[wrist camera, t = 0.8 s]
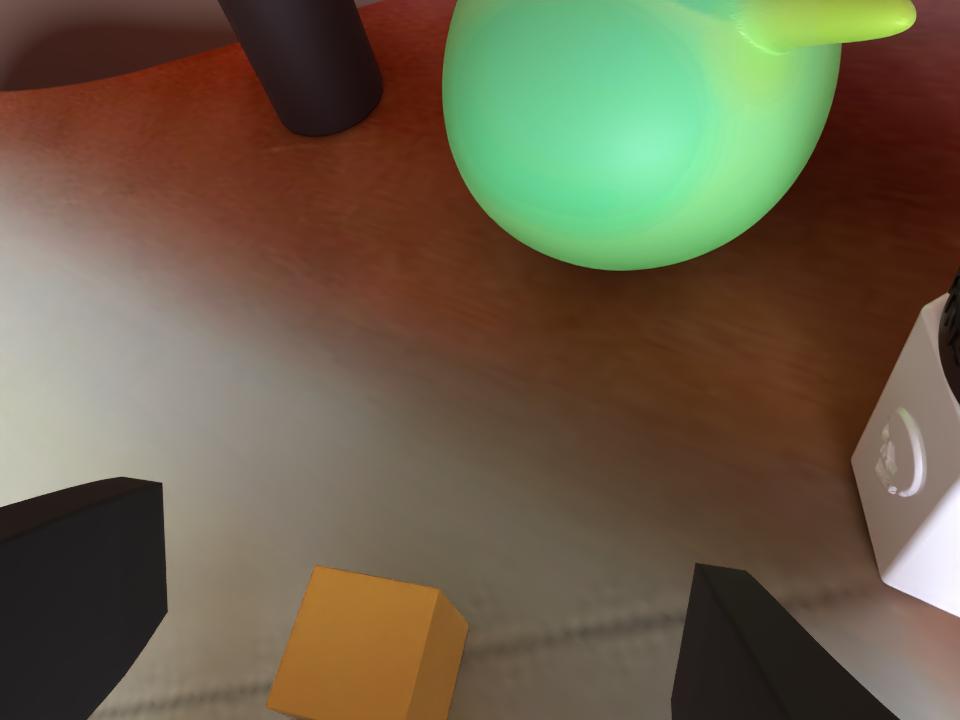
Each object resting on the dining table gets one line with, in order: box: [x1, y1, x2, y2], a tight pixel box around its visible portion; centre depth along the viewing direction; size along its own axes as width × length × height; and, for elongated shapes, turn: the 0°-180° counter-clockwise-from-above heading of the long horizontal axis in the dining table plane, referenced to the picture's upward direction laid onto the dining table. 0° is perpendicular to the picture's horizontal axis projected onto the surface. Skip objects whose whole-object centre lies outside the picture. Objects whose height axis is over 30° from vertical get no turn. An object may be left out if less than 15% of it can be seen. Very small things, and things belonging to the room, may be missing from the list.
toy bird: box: [442, 0, 916, 271], centre depth 30 cm, size 18×17×15 cm
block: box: [266, 565, 469, 720], centre depth 24 cm, size 4×4×4 cm
